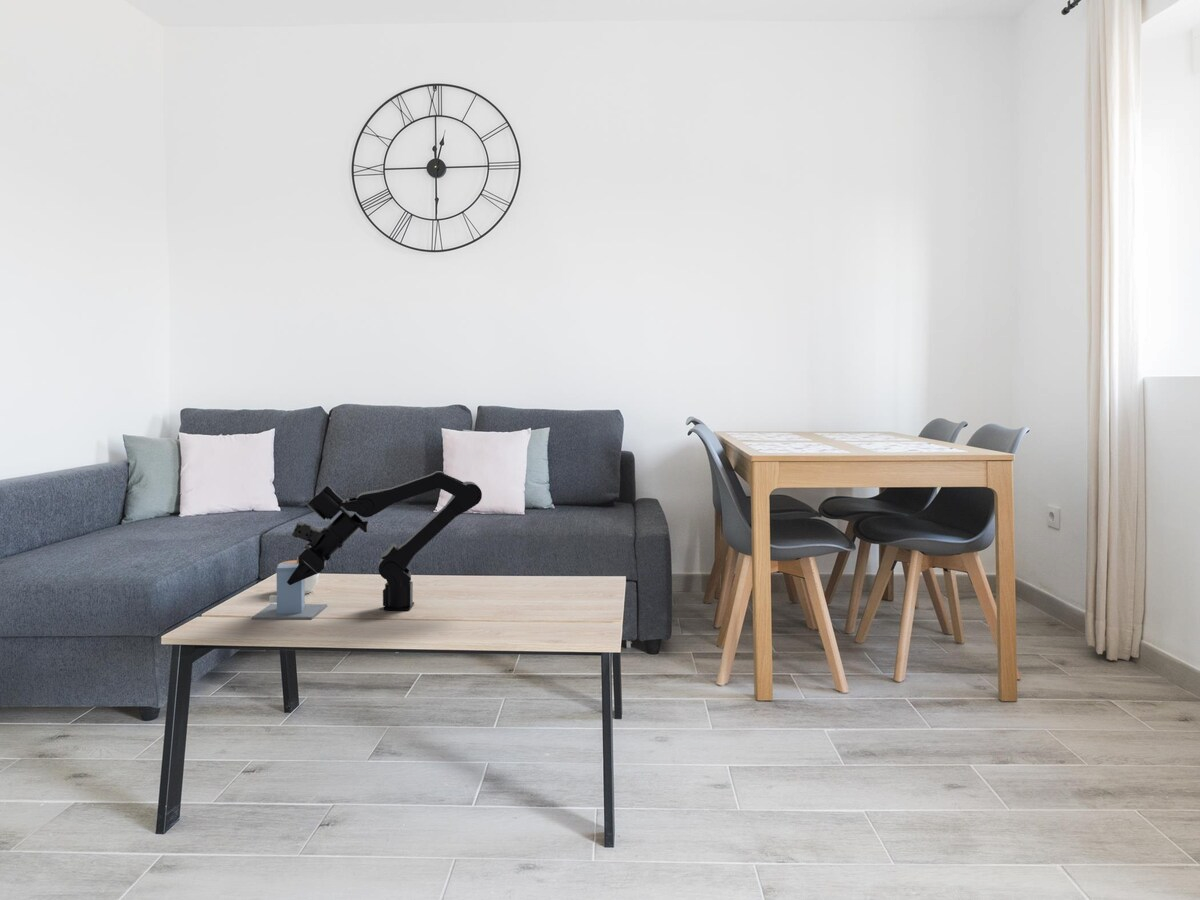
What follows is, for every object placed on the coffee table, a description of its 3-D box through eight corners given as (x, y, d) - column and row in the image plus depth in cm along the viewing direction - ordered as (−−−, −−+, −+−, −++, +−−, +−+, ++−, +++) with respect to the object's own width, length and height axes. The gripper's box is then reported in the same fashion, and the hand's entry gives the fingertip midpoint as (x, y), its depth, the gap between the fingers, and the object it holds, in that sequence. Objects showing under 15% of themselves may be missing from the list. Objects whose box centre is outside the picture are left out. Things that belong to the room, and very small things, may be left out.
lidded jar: (306, 598, 209) (305, 562, 209) (269, 595, 212) (268, 560, 211) (327, 588, 220) (327, 554, 219) (292, 586, 222) (292, 552, 222)
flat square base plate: (327, 606, 201) (327, 588, 201) (312, 619, 189) (312, 600, 189) (270, 606, 201) (270, 588, 200) (252, 618, 189) (251, 600, 188)
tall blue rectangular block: (304, 606, 198) (304, 562, 198) (301, 612, 193) (301, 567, 192) (272, 608, 197) (271, 563, 196) (268, 614, 191) (267, 568, 191)
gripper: (317, 505, 204) (271, 550, 202) (308, 515, 186) (258, 565, 184) (350, 535, 206) (305, 579, 204) (344, 548, 188) (295, 597, 186)
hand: (291, 579), depth 195 cm, fingers open, 9 cm apart
